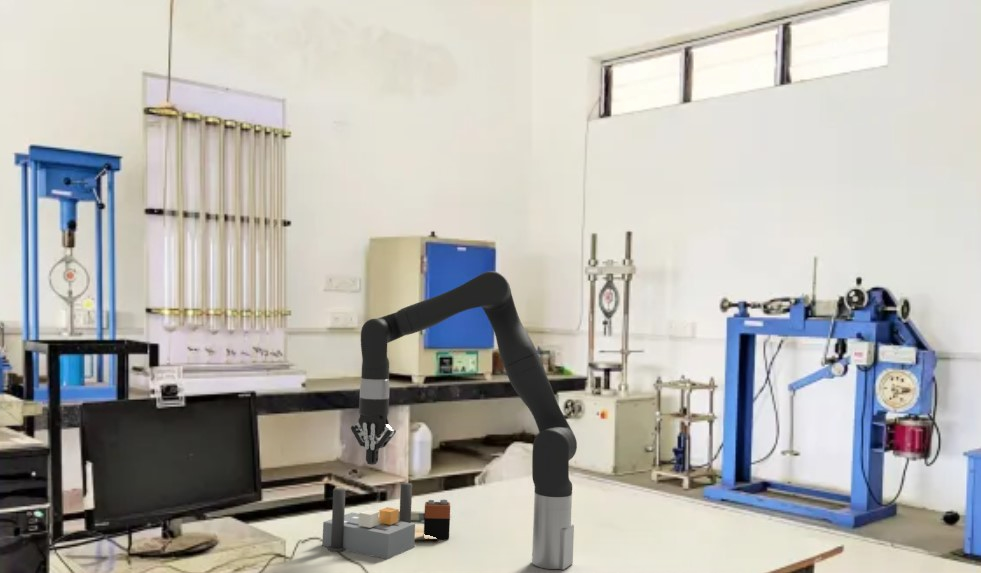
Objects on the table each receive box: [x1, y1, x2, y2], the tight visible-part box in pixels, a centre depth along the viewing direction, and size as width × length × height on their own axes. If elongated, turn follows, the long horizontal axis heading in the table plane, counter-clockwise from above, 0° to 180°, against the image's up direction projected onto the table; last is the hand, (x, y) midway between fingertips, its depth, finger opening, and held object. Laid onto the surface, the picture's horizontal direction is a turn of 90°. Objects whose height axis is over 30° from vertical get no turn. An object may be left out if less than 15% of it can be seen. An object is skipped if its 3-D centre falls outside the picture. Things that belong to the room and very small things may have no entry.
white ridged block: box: [358, 509, 379, 528], centre depth 210 cm, size 4×4×3 cm
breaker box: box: [322, 512, 416, 560], centre depth 214 cm, size 20×12×6 cm, turn 63°
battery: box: [423, 499, 451, 541], centre depth 224 cm, size 4×7×10 cm, turn 93°
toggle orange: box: [378, 507, 400, 525], centre depth 213 cm, size 4×4×3 cm
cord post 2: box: [398, 482, 413, 523], centre depth 219 cm, size 4×4×15 cm
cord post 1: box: [327, 487, 346, 553], centre depth 210 cm, size 4×4×15 cm
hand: (371, 463), depth 214 cm, fingers closed
